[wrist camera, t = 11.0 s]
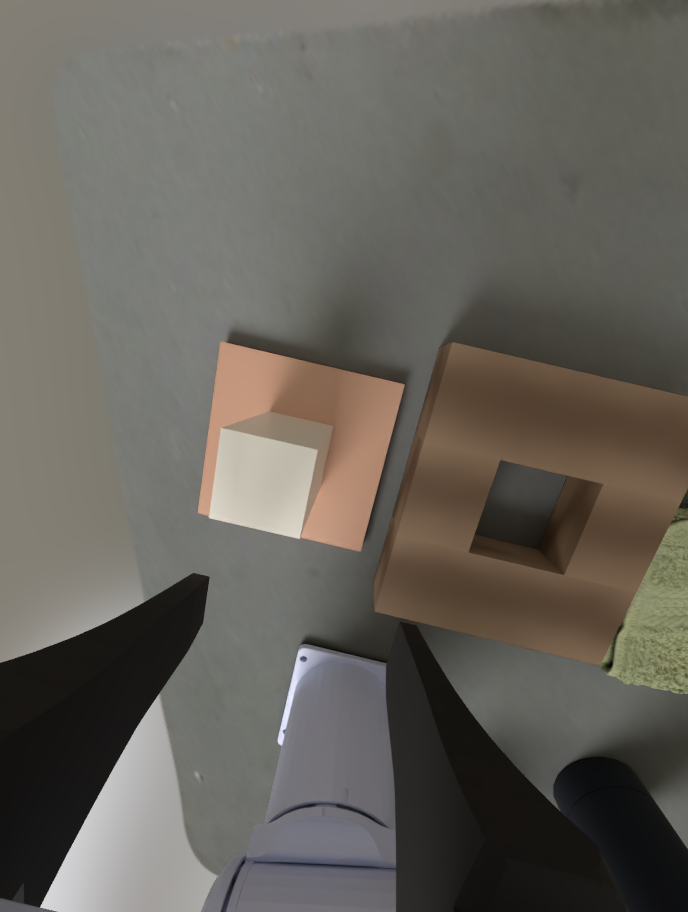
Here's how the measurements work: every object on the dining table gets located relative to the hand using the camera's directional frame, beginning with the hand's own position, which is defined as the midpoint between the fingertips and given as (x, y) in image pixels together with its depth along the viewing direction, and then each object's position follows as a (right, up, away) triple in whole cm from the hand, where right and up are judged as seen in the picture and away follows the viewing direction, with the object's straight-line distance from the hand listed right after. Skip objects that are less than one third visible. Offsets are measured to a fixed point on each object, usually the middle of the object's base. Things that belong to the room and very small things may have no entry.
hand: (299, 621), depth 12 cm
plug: (-1, +6, +8) cm, 11 cm away
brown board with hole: (+12, +3, +9) cm, 16 cm away
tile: (-1, +6, +9) cm, 11 cm away
